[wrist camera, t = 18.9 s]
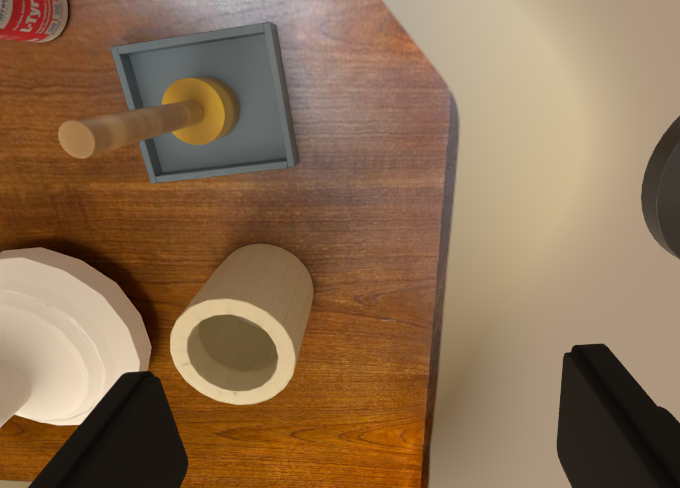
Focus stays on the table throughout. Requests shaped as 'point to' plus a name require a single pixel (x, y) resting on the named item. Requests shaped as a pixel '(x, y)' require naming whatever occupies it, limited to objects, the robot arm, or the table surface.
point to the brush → (158, 119)
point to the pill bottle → (32, 19)
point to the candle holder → (62, 336)
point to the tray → (240, 75)
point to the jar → (245, 326)
